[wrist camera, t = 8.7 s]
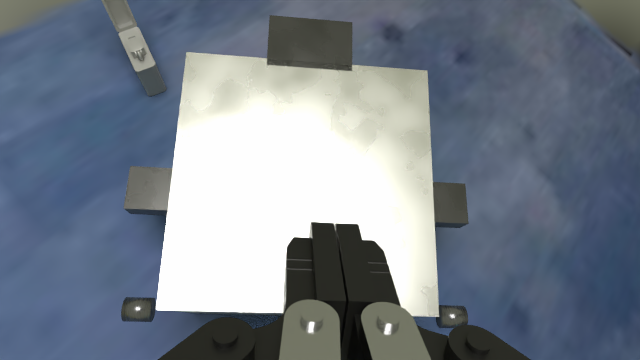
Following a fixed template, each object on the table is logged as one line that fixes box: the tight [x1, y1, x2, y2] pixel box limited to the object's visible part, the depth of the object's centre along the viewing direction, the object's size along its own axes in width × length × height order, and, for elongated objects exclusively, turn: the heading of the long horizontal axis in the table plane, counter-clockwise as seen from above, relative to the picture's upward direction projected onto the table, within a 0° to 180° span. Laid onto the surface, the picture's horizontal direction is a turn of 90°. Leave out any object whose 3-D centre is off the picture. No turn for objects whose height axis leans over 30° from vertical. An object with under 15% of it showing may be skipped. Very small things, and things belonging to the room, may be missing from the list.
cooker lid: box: [156, 15, 439, 317], centre depth 31 cm, size 20×17×1 cm
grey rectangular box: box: [121, 166, 468, 328], centre depth 35 cm, size 17×24×10 cm
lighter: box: [102, 0, 166, 96], centre depth 38 cm, size 7×2×8 cm, turn 28°
